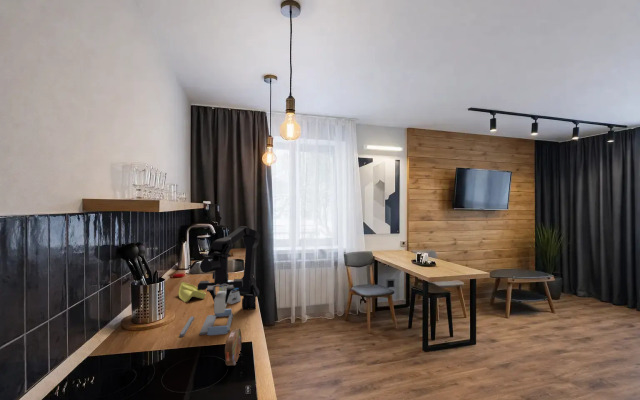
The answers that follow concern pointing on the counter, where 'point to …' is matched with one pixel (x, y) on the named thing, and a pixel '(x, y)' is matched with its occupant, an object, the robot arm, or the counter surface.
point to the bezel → (219, 329)
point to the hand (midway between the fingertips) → (220, 303)
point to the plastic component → (189, 292)
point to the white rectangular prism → (220, 302)
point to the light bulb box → (231, 294)
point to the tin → (233, 347)
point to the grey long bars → (206, 324)
